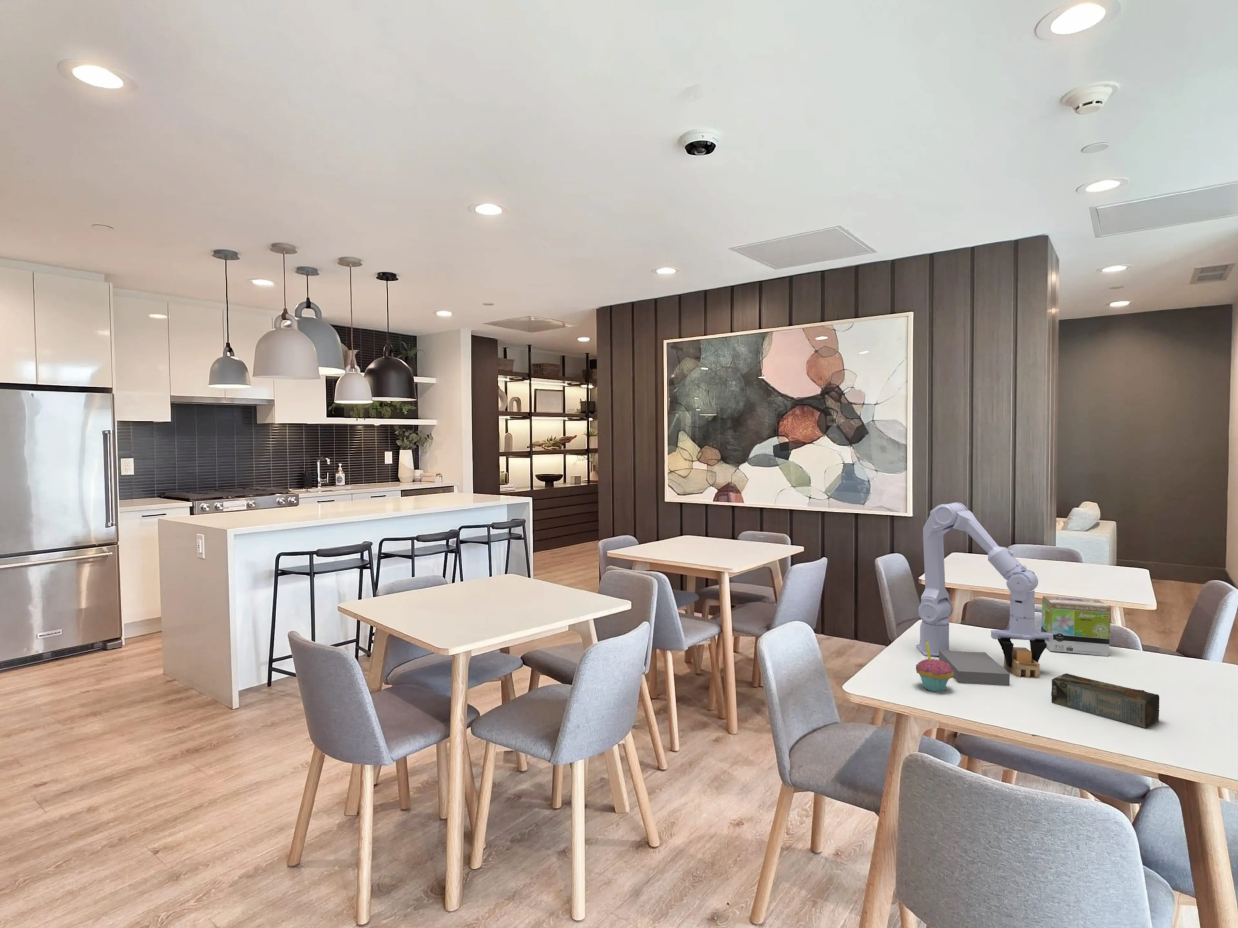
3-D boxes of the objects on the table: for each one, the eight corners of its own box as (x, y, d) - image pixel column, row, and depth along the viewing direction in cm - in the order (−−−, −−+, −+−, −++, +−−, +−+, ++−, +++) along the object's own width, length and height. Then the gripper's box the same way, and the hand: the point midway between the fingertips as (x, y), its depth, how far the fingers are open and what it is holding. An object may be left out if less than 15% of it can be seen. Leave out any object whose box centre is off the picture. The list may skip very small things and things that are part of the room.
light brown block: (1011, 657, 186) (1011, 646, 186) (1025, 658, 186) (1025, 647, 185) (1017, 662, 182) (1017, 651, 182) (1031, 663, 182) (1031, 651, 182)
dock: (939, 660, 193) (939, 650, 193) (985, 663, 191) (985, 652, 191) (958, 682, 176) (958, 671, 175) (1009, 685, 173) (1009, 673, 173)
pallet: (1004, 665, 189) (1004, 652, 189) (1025, 666, 188) (1025, 653, 188) (1016, 676, 180) (1016, 662, 180) (1039, 677, 179) (1039, 663, 179)
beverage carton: (1064, 695, 167) (1065, 668, 167) (1161, 722, 151) (1162, 692, 151) (1049, 703, 162) (1050, 675, 162) (1148, 731, 147) (1149, 700, 146)
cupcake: (914, 690, 170) (914, 642, 170) (917, 680, 178) (917, 633, 177) (952, 696, 166) (953, 647, 166) (954, 685, 174) (954, 638, 173)
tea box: (1050, 652, 201) (1051, 602, 200) (1040, 642, 210) (1041, 594, 210) (1110, 657, 196) (1111, 605, 196) (1097, 647, 206) (1098, 597, 205)
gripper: (997, 618, 181) (997, 669, 181) (1058, 620, 178) (1057, 672, 179) (988, 611, 188) (987, 661, 188) (1046, 614, 185) (1046, 664, 186)
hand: (1021, 666), depth 184 cm, fingers closed on pallet, 5 cm apart
